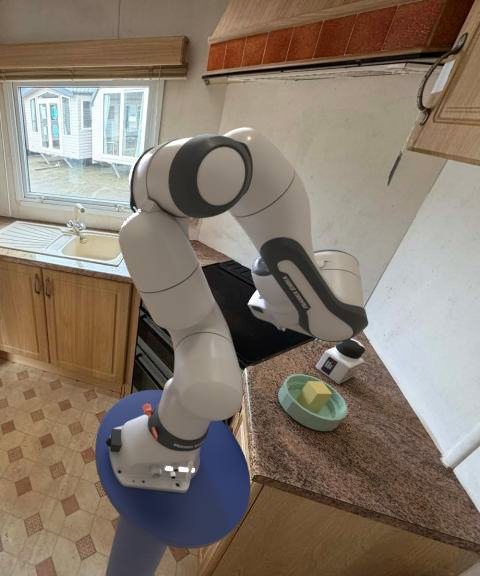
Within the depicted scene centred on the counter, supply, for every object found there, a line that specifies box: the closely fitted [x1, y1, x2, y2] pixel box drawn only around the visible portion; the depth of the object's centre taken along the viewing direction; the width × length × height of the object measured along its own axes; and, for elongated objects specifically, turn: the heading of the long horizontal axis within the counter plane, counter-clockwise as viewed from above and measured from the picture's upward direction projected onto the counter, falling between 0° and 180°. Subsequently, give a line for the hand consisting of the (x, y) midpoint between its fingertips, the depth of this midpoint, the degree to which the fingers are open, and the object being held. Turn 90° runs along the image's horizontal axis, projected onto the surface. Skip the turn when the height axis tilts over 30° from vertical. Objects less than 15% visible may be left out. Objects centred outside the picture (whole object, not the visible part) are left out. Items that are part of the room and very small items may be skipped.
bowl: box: [277, 373, 349, 432], centre depth 86 cm, size 15×15×6 cm
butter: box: [296, 380, 332, 413], centre depth 86 cm, size 4×4×8 cm
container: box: [315, 338, 366, 385], centre depth 97 cm, size 8×8×13 cm
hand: (301, 334), depth 79 cm, fingers open, 8 cm apart
